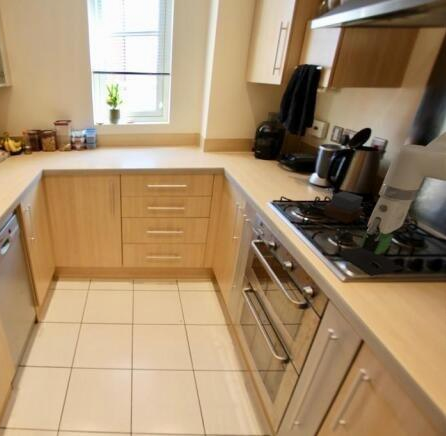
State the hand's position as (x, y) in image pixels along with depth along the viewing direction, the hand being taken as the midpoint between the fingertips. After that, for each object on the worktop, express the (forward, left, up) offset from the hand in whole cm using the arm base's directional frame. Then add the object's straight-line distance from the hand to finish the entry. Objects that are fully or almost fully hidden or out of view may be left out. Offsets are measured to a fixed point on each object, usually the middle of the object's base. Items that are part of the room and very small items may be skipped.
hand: (373, 246), depth 94 cm
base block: (-16, -26, -5) cm, 31 cm away
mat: (0, 0, -5) cm, 5 cm away
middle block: (-16, -26, -1) cm, 30 cm away
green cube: (0, 0, 0) cm, 0 cm away
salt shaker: (-27, -13, -5) cm, 31 cm away
